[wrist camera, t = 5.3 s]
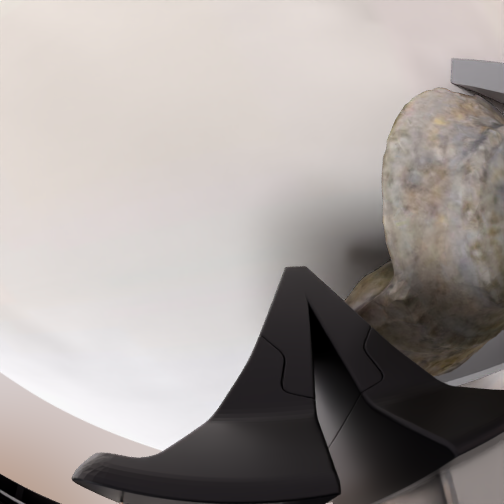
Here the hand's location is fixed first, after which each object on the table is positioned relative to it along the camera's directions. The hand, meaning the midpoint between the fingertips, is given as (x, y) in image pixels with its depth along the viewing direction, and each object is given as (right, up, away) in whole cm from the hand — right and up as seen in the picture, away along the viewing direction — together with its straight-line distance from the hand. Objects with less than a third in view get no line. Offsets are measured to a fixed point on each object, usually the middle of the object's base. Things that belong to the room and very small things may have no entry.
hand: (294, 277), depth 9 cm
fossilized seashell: (+6, +2, +2) cm, 6 cm away
